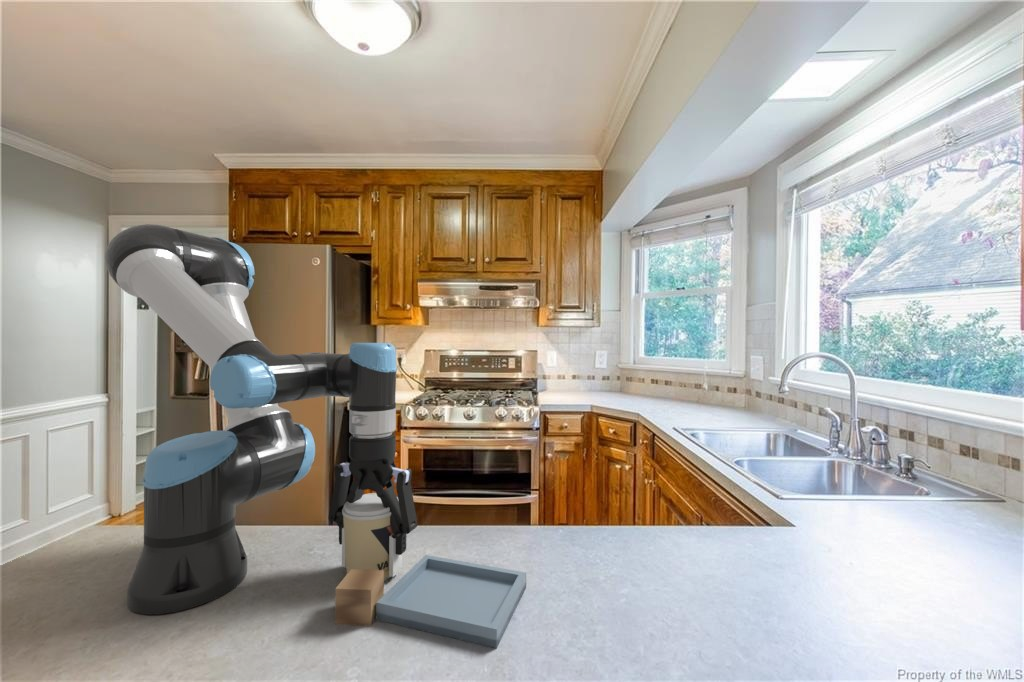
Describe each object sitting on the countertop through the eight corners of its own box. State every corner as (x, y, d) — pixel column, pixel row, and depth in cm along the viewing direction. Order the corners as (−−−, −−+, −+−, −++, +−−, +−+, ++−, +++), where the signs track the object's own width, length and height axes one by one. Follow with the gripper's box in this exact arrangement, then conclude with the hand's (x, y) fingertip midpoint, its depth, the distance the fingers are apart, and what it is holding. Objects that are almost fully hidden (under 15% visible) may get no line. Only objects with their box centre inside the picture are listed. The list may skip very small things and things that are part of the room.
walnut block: (335, 624, 58) (335, 588, 58) (350, 602, 63) (351, 569, 63) (370, 626, 58) (371, 589, 58) (383, 603, 63) (383, 570, 63)
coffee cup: (383, 592, 66) (383, 515, 66) (329, 585, 67) (330, 510, 68) (409, 561, 75) (409, 494, 75) (361, 556, 77) (362, 490, 77)
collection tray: (375, 619, 59) (376, 602, 59) (425, 568, 72) (425, 554, 72) (496, 648, 54) (496, 629, 54) (526, 587, 67) (526, 572, 67)
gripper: (304, 433, 71) (303, 568, 71) (417, 443, 64) (416, 591, 64) (336, 425, 78) (335, 547, 78) (439, 433, 72) (439, 566, 71)
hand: (371, 567), depth 71 cm, fingers closed on coffee cup, 9 cm apart
